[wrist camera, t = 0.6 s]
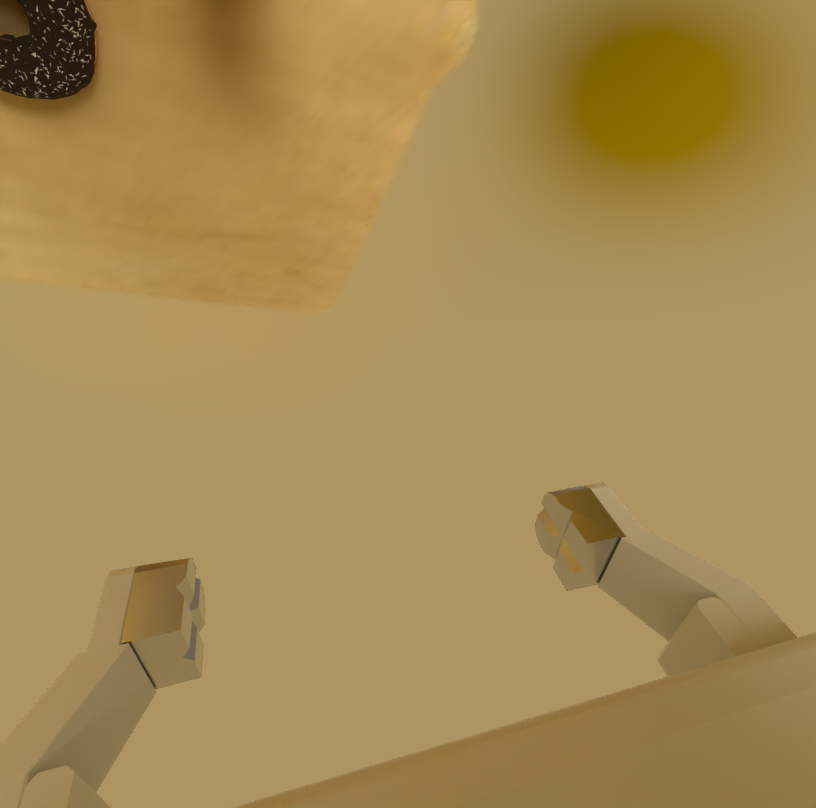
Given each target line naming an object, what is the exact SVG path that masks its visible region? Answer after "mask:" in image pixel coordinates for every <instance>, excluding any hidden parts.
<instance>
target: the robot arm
mask: <svg viewBox="0 0 816 808" xmlns="http://www.w3.org/2000/svg"><path fill="white" fill-rule="evenodd" d="M542 505H543V506H544V509H543V511H541V512H540V513H539V514H538V516H537V519H536V523H535V527H536V535H537V538H538V541H539V543H540V545H541V547H542V549H543V551H544V552H545V553H546V554H548V555H550V556H551V557H553V558H554V564H553V568H554V570H555V572H556V573H557V575H558V577H559V578H560V580H561V582H562V583H563V585H564V587H565V588H566V590H567V591H568V590H573V589H578V588H582V587H588V586H592V585H597V584H599V585H598V587H599V588H601V589H602V590H603V591H604V592H606V593H607V594H608V595H610V596H611V597H612V598H614V599H615V600H616V601H617V602H619V603H620V604H621V605H623V606H624V607H625V608H626V609H628V610H629V611H630V612H632V613H633V614H634V615H636V616H637V617H638V618H639V619H641V620H642V621H643V622H645V623H646V624H647V625H648V626H650V627H651V628H652V629H654V630H655V631H656V632H657V633H659V634H660V635H661V636H663V637H664V638H665V639H667V640H668V643H667V644H666V646H665V647H664V648H663V650H662V651H661V652H660V654H659V657H658V662H659V664H660V665H661V667H662V668H663V670H664V671H665V673H666V674H667V676H668V677H665V678H662V679H658V680H655V681H652V682H648V683H645V684H642V685H638V686H635V687H632V688H629V689H625V690H622V691H619V692H615V693H612V694H609V695H605V696H602V697H598V698H595V699H592V700H588V701H585V702H582V703H578V704H575V705H572V706H569V707H565V708H562V709H559V710H555V711H552V712H548V713H546V714H542V715H538V716H535V717H532V718H528V719H525V720H522V721H518V722H515V723H512V724H508V725H505V726H502V727H498V728H495V729H492V730H489V731H485V732H482V733H479V734H475V735H472V736H468V737H465V738H462V739H458V740H455V741H452V742H449V743H445V744H442V745H438V746H435V747H432V748H429V749H425V750H422V751H419V752H415V753H412V754H408V755H405V756H402V757H398V758H395V759H392V760H389V761H386V762H382V763H379V764H375V765H372V766H369V767H365V768H362V769H359V770H355V771H352V772H349V773H346V774H342V775H339V776H335V777H332V778H329V779H325V780H322V781H319V782H316V783H312V784H309V785H305V786H302V787H299V788H295V789H293V790H289V791H285V792H282V793H279V794H276V795H272V796H269V797H265V798H262V799H259V800H255V801H252V802H249V803H245V804H242V805H239V806H236V807H232V808H816V632H815V633H811V634H808V635H805V636H801V637H797V636H796V635H795V634H794V633H793V632H792V631H791V630H790V629H789V628H788V626H786V624H785V623H784V622H783V621H782V620H781V619H780V618H779V617H778V615H777V614H776V613H775V612H774V611H773V610H772V609H771V608H770V607H769V606H768V604H767V603H766V602H765V601H764V600H763V599H762V598H761V597H760V596H759V595H758V594H757V592H756V591H755V590H754V589H753V588H752V587H751V586H750V585H748V584H746V583H745V582H743V581H741V580H739V579H737V578H735V577H733V576H732V575H730V574H728V573H726V572H724V571H722V570H721V569H718V568H717V567H715V566H713V565H711V564H709V563H708V562H706V561H704V560H702V559H700V558H698V557H697V556H695V555H693V554H691V553H689V552H687V551H686V550H684V549H682V548H680V547H678V546H676V545H674V544H672V543H671V542H669V541H667V540H665V539H663V538H662V537H660V536H658V535H656V534H654V533H652V532H644V530H643V529H642V528H641V526H640V525H639V524H638V523H637V521H636V520H635V519H634V518H633V516H632V515H631V514H630V513H629V511H627V509H626V508H625V507H624V505H623V504H622V503H621V502H620V500H619V499H618V498H617V497H616V496H615V494H614V493H613V492H612V491H611V489H610V488H609V487H608V486H607V485H606V484H604V483H596V484H591V485H587V486H578V487H573V488H568V489H563V490H558V491H553V492H548V493H547V494H545V495H544V497H543V500H542ZM195 574H196V566H195V563H194V561H193V558H187V559H180V560H174V561H168V562H161V563H155V564H148V565H142V566H136V567H130V568H124V569H118V570H113V571H110V572H109V574H108V575H107V577H106V579H105V582H104V585H103V589H102V594H101V598H100V602H99V606H98V610H97V614H96V618H95V622H94V626H93V630H92V634H91V638H90V642H89V646H88V650H87V652H84V653H80V654H78V655H77V656H76V657H75V658H74V659H73V661H72V662H71V663H70V664H69V665H68V666H67V668H66V669H65V670H64V671H63V672H62V673H61V674H60V676H59V677H58V678H57V679H56V680H55V682H54V683H53V684H52V685H51V686H50V687H49V688H48V689H47V691H46V692H45V693H44V694H43V695H42V696H41V697H40V699H39V700H38V701H37V702H36V703H35V704H34V706H33V707H32V708H31V709H30V710H29V711H28V713H27V714H26V715H25V716H24V717H23V718H22V719H21V721H20V722H19V723H18V724H17V725H16V726H15V727H14V729H13V730H12V731H11V732H10V733H9V734H8V736H7V737H6V738H5V739H4V740H3V741H2V742H1V744H0V808H111V807H110V806H109V805H108V804H107V803H106V802H105V801H104V800H103V799H102V798H101V797H100V796H99V795H98V794H97V793H96V792H97V790H98V788H99V787H100V785H101V783H102V782H103V780H104V778H105V777H106V775H107V773H108V772H109V770H110V768H111V767H112V765H113V763H114V762H115V760H116V758H117V757H118V755H119V753H120V752H121V750H122V748H123V747H124V745H125V743H126V742H127V740H128V738H129V737H130V735H131V733H132V732H133V730H134V728H135V727H136V725H137V723H138V722H139V720H140V718H141V717H142V715H143V713H144V712H145V710H146V709H147V707H148V705H149V703H150V702H151V700H152V699H153V697H154V695H155V694H156V690H155V689H158V688H162V687H166V686H169V685H173V684H177V683H181V682H185V681H189V680H193V679H196V678H200V677H202V661H203V646H204V645H203V642H202V640H201V637H200V634H199V631H200V630H201V629H202V627H203V626H204V625H205V597H204V591H203V586H202V583H201V580H200V579H198V578H196V577H195Z"/></svg>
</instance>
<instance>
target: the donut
mask: <svg viewBox="0 0 816 808" xmlns="http://www.w3.org/2000/svg"><path fill="white" fill-rule="evenodd" d="M17 1H18V2H19V4H20V5H21V6H22V7H23V9H24V11H25V13H26V15H27V17H28V19H29V24H30V34H29V35H25V36H21V37H18V38H15V37H14V36H12V35H7V34H5V35H4V34H2V33H0V90H3V91H6V92H9V93H12V94H15V95H17V96H22V97H27V98H39V99H52V100H53V99H59V98H64V97H69V96H71V95H74V94H76V93H78V92H79V91H80V90H81V89H82V88H85V87H86V86H87V85H88V84H89V83H90V81H91V79H92V77H93V74H94V67H95V62H96V58H97V31H96V28H97V26H96V23H95V22H94V20H93V17H92V13H91V11H90V8H89V6H88V4H87V2H86V0H17Z"/></svg>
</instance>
